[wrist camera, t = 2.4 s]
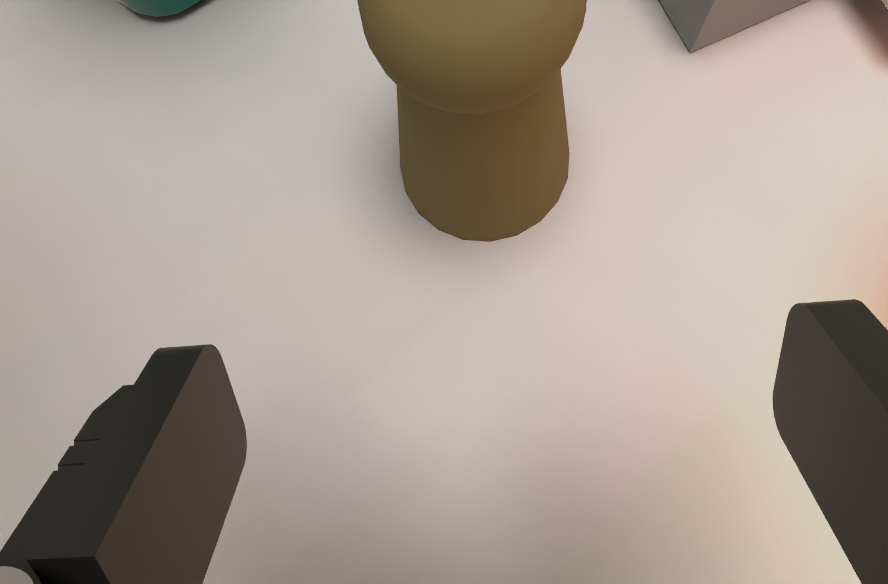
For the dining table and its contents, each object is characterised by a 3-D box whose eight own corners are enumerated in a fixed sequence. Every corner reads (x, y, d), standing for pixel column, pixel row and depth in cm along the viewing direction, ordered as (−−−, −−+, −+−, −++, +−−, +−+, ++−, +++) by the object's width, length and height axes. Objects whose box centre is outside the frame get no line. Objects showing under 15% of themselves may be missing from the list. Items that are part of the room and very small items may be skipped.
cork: (494, 53, 26) (486, -227, 15) (605, 167, 24) (682, -51, 14) (367, 153, 25) (267, -62, 15) (473, 276, 24) (447, 136, 13)
